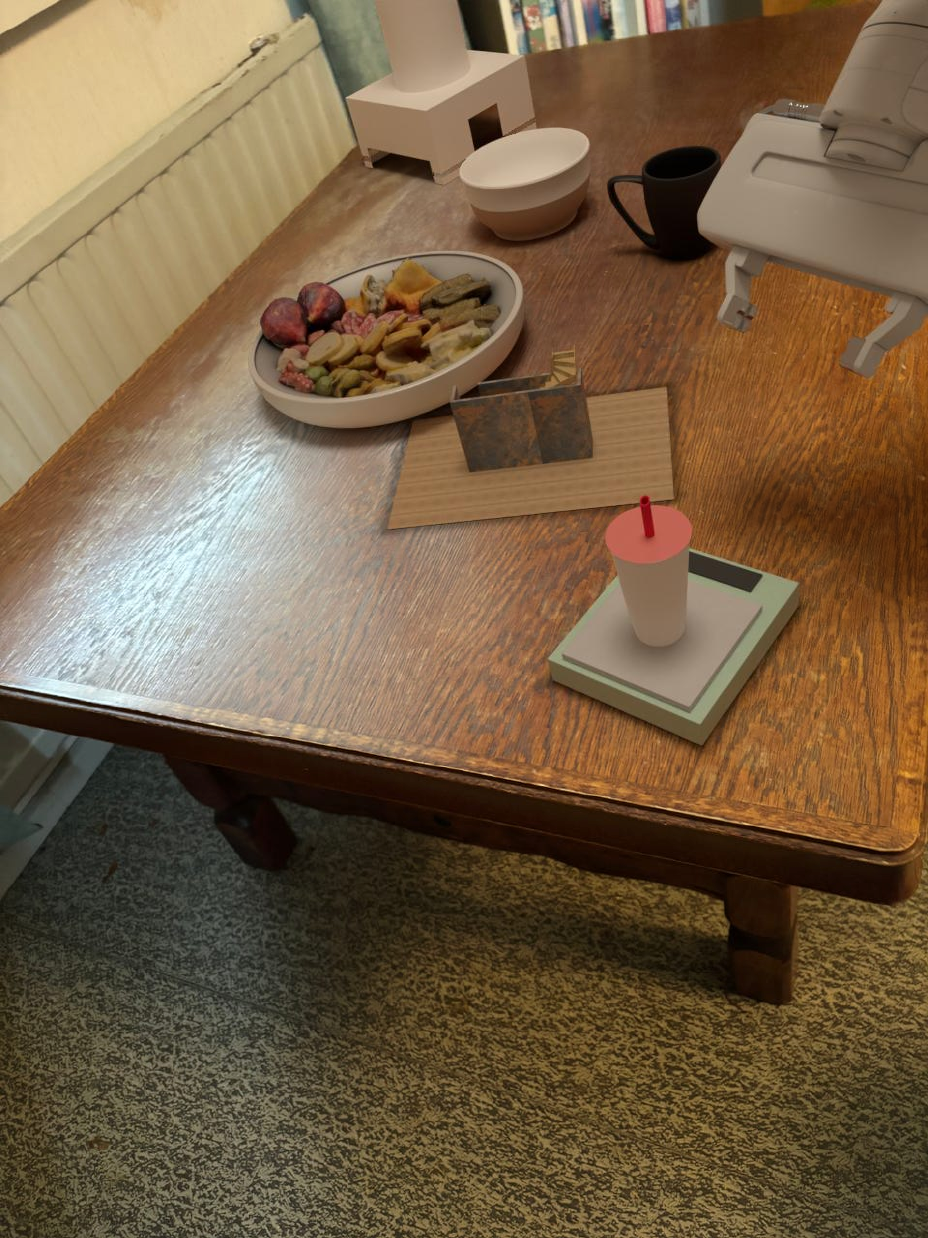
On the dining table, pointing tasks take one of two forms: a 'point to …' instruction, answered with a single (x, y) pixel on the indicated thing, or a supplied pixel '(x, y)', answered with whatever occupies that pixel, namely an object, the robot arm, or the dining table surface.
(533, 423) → the ruin model on sheet
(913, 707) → the dining table surface
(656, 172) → the mug
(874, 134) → the robot arm
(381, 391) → the bowl
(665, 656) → the scale
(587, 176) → the bowl
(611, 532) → the cup
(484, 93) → the paper towel holder
